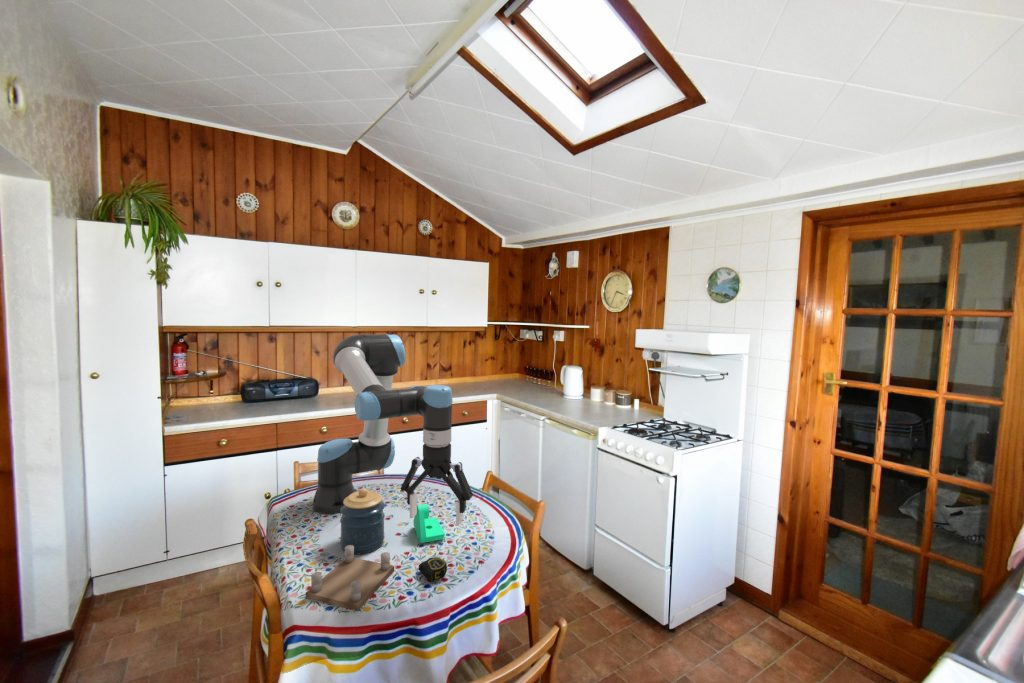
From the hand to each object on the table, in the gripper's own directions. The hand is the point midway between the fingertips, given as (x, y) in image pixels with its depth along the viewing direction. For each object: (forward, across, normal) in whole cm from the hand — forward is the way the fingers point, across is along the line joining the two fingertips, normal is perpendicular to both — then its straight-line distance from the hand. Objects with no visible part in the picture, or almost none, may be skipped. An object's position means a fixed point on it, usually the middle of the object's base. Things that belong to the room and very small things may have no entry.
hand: (435, 519), depth 120 cm
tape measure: (+16, 0, -1) cm, 16 cm away
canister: (+16, -28, +8) cm, 33 cm away
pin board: (+16, -19, -10) cm, 27 cm away
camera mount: (+16, -12, +20) cm, 28 cm away
